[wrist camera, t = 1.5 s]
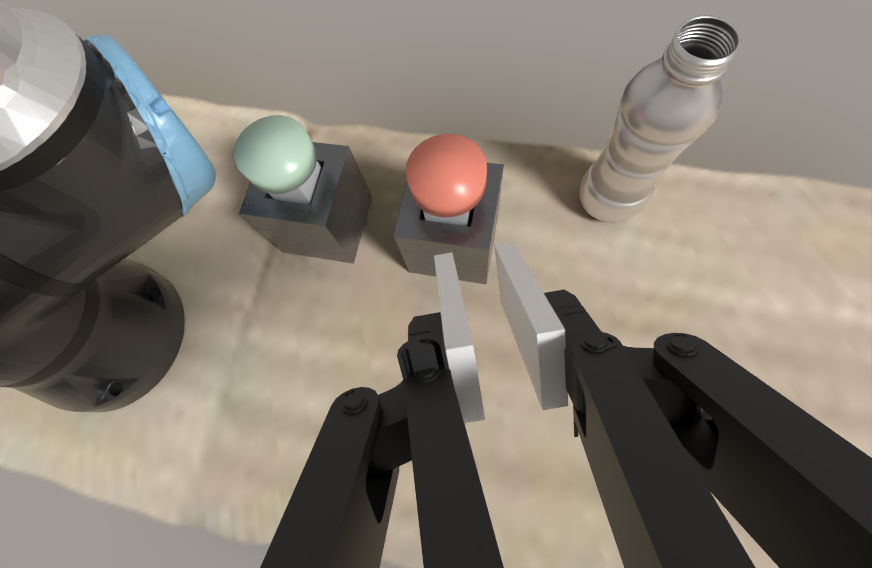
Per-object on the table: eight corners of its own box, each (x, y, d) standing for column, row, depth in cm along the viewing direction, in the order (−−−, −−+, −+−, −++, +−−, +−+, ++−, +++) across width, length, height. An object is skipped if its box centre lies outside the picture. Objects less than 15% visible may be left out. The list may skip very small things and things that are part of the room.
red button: (415, 249, 40) (397, 199, 31) (427, 194, 42) (414, 130, 33) (478, 259, 39) (479, 210, 30) (488, 202, 41) (492, 138, 32)
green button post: (282, 252, 46) (239, 213, 37) (303, 187, 48) (266, 136, 39) (353, 263, 45) (325, 226, 36) (371, 196, 47) (348, 146, 38)
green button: (278, 229, 42) (223, 175, 33) (295, 176, 44) (247, 111, 35) (335, 237, 41) (295, 185, 32) (350, 183, 43) (317, 119, 34)
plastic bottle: (569, 178, 45) (637, 6, 26) (633, 171, 45) (749, -10, 26) (580, 233, 43) (663, 88, 24) (648, 225, 43) (785, 73, 24)
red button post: (409, 272, 44) (393, 236, 35) (424, 203, 46) (413, 153, 37) (486, 284, 43) (489, 250, 34) (498, 213, 45) (503, 164, 36)
